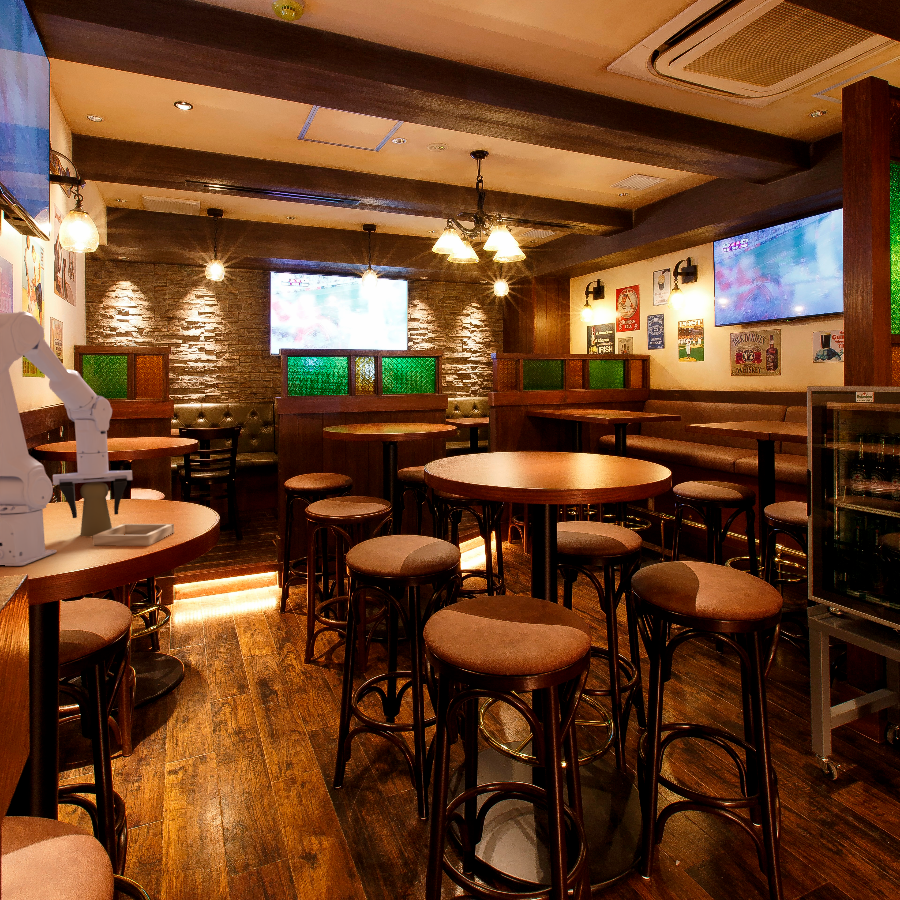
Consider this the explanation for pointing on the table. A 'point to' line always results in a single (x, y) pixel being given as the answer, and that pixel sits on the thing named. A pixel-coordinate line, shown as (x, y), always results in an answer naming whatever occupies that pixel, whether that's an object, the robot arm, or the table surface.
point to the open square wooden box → (119, 539)
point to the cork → (94, 509)
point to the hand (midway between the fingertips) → (95, 515)
